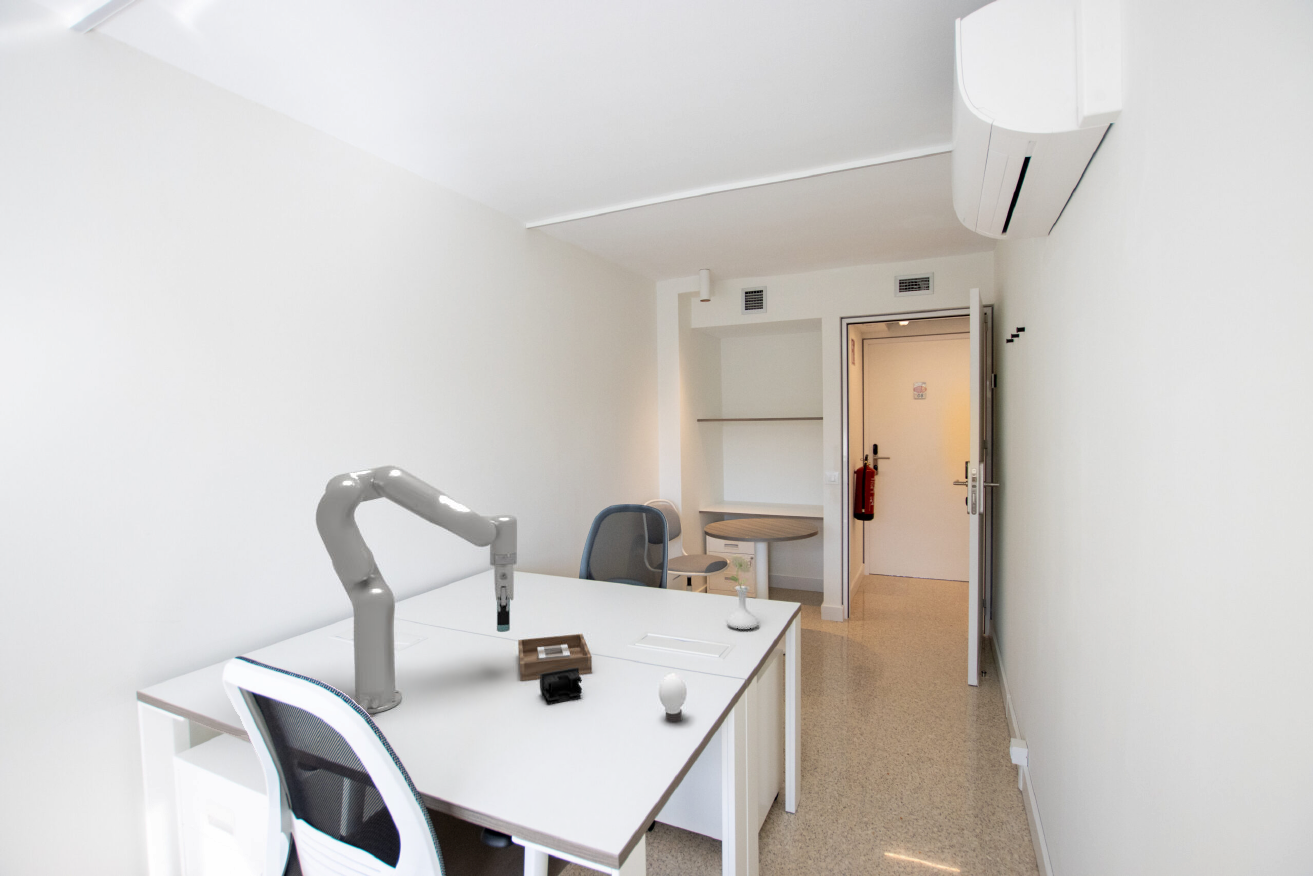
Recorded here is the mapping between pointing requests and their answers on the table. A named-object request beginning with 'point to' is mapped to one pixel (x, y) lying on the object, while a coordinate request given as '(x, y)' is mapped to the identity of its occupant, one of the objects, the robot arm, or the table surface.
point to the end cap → (560, 686)
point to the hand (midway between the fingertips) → (503, 621)
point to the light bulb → (672, 696)
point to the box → (553, 655)
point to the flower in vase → (741, 599)
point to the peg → (503, 627)
